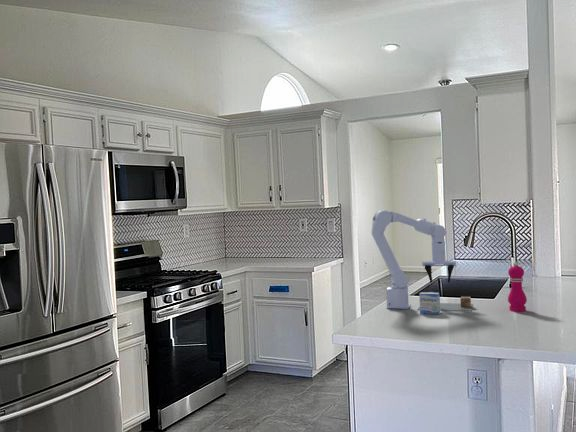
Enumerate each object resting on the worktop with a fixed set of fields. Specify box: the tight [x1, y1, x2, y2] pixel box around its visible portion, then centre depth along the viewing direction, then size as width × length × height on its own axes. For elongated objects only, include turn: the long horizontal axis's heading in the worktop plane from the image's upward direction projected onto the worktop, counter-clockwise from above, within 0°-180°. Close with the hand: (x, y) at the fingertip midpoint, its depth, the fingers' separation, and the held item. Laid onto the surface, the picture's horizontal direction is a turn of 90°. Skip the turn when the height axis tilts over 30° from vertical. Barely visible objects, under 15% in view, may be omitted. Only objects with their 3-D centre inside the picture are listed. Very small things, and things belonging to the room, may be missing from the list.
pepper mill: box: [507, 261, 528, 313], centre depth 219 cm, size 7×7×20 cm
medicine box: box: [418, 291, 441, 315], centre depth 221 cm, size 8×4×9 cm, turn 68°
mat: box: [416, 302, 473, 312], centre depth 232 cm, size 22×15×1 cm
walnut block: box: [460, 296, 472, 308], centre depth 230 cm, size 4×4×4 cm
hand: (440, 282), depth 236 cm, fingers open, 7 cm apart
